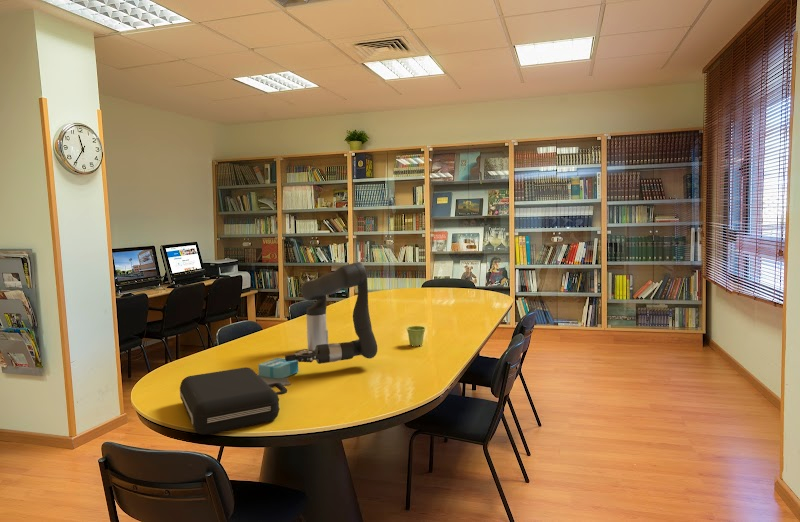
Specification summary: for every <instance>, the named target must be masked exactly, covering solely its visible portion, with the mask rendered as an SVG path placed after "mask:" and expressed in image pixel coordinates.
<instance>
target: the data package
mask: <svg viewBox="0 0 800 522" xmlns="http://www.w3.org/2000/svg"><path fill="white" fill-rule="evenodd" d="M257 368H258V375H259V376H262V377H268V378H274V379H283V378H285V377H286V378H287V377H289V376H292V375H295V374H298V373H299V362H298V361H296V360H294V361H286V360H285V358H281V357H276V358H273V359H270V360H266V361H264V362H262V363H259V364H258V367H257Z"/></svg>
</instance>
